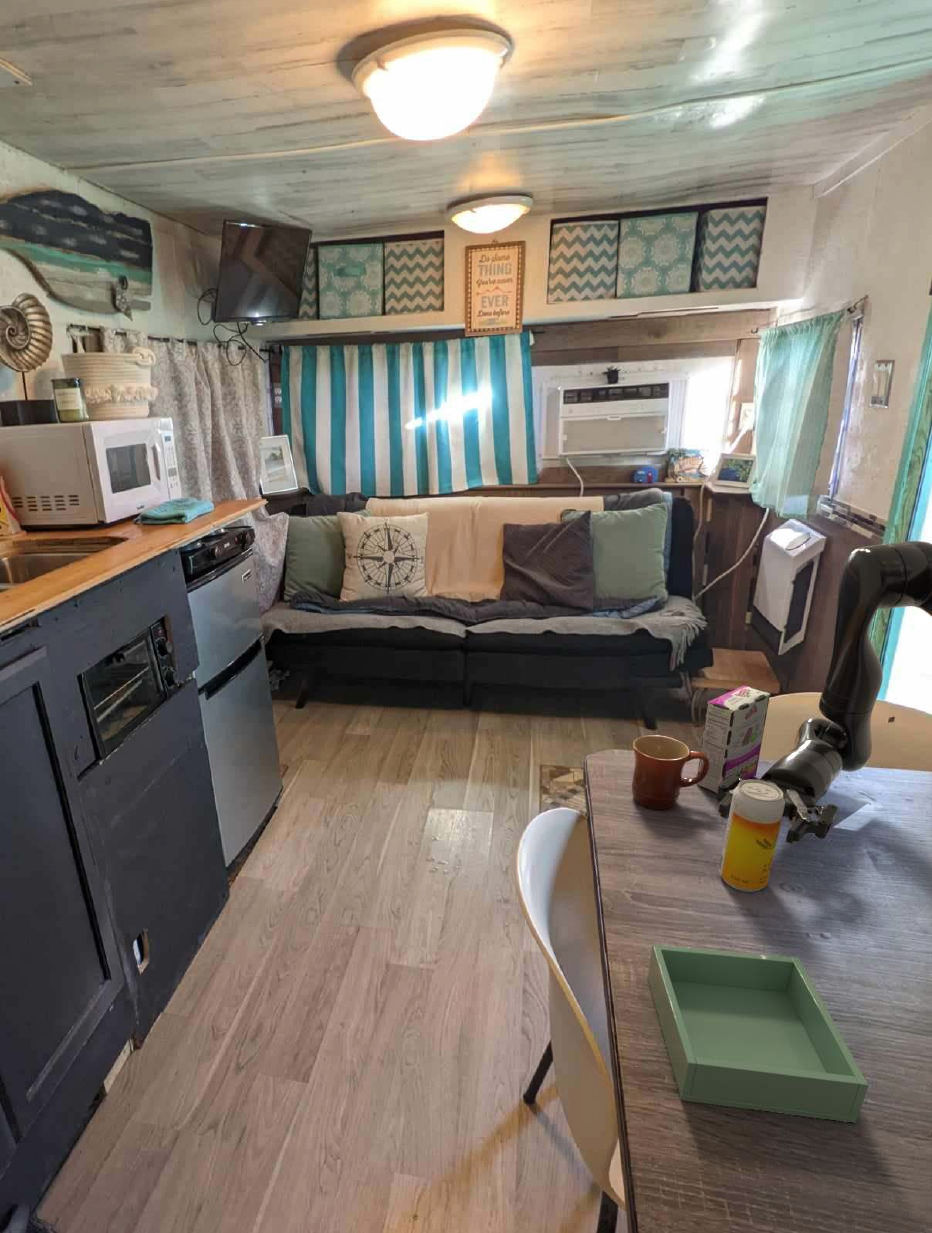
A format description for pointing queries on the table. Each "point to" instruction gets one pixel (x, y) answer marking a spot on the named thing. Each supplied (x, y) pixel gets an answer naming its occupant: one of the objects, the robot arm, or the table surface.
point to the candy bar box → (733, 735)
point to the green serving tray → (752, 1034)
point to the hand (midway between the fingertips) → (755, 824)
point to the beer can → (751, 835)
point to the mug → (662, 770)
